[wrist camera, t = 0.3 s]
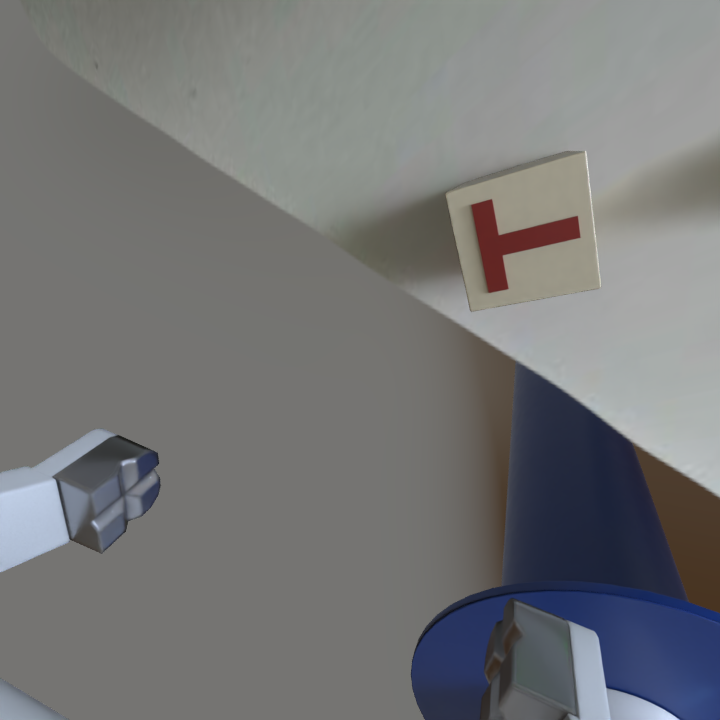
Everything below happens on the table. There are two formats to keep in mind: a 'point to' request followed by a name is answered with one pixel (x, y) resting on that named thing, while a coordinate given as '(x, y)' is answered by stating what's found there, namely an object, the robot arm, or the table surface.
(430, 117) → the table surface
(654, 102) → the table surface
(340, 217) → the table surface
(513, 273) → the letter block
